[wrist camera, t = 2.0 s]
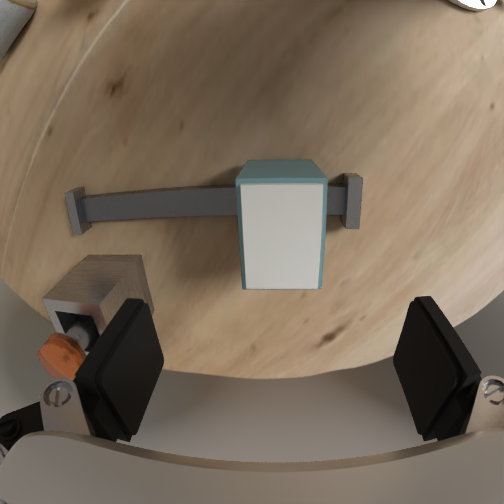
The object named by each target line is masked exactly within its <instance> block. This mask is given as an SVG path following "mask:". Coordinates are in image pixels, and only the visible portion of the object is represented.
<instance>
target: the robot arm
mask: <svg viewBox="0 0 504 504" xmlns="http://www.w3.org/2000/svg"><path fill="white" fill-rule="evenodd" d="M449 1H450V2H452V3H454V4H456V5H458V6H460V7H462V8H465V9H468V10H473V11H483V10H486V9H489V8H491V7H493V6H494V5H495V3H496V1H497V0H449ZM393 363H394V367H395V369H396V372H397V374H398V377H399V380H400V383H401V385H402V388H403V391H404V393H405V396H406V399H407V402H408V405H409V408H410V411H411V414H412V417H413V420H414V423H415V426H416V429H417V432H418V434H420V435H421V434H422V436H423V440H424V441H428V440H432V439H435V438H437V440H438V441H437V442H433V443H429V444H425V445H421V446H417V447H412V448H407V449H403V450H398V451H393V452H388V453H382V454H376V455H370V456H364V457H356V458H348V459H338V460H327V461H315V462H314V461H313V462H289V463H288V462H287V463H267V462H266V463H263V462H239V461H225V460H214V459H205V458H196V457H188V456H182V455H176V454H170V453H164V452H158V451H154V450H149V449H144V448H139V447H134V446H130V445H125V444H121V443H117V442H116V441H117V439H120V440H124V441H127V442H130V440H131V437H132V435H136V434H137V432H138V429H139V426H140V423H141V421H142V419H143V416H144V413H145V410H146V408H147V405H148V403H149V400H150V397H151V395H152V392H153V390H154V387H155V385H156V382H157V380H158V377H159V374H160V372H161V370H162V367H163V364H164V357H163V353H162V350H161V347H160V344H159V340H158V337H157V333H156V330H155V326H154V323H153V319H152V315H151V312H150V308H149V305H148V303H145V302H144V300H143V299H138V298H127V299H126V300H125V301H124V303H123V304H122V306H121V307H120V308H119V310H118V311H117V313H116V314H115V315H114V317H113V318H112V320H111V321H110V322H109V324H108V325H107V327H106V328H105V330H104V331H103V333H102V334H101V335H100V337H99V338H98V340H97V341H96V343H95V344H94V346H93V347H92V349H91V350H90V352H89V353H88V355H87V356H86V358H85V359H84V361H83V362H82V364H81V366H80V367H79V369H78V370H77V372H76V373H75V376H76V377H75V378H74V380H73V381H72V380H70V379H67V378H57V379H54V380H52V381H50V382H49V383H47V384H46V385H45V386H44V387H43V389H42V390H41V393H40V402H37V403H34V404H32V405H29V406H27V407H24V408H21V409H19V410H16V411H13V412H11V413H8V414H6V415H4V416H2V418H0V504H504V379H502V378H500V377H498V376H488V377H485V378H484V379H483V380H482V379H481V377H480V374H481V371H480V369H479V368H478V366H477V364H476V363H475V361H474V359H473V358H472V356H471V355H470V353H469V351H468V350H467V348H466V347H465V345H464V343H463V342H462V340H461V339H460V337H459V336H458V334H457V333H456V331H455V330H454V328H453V327H452V325H451V324H450V322H449V321H448V319H447V318H446V317H445V315H444V314H443V312H442V311H441V309H440V308H439V307H438V305H437V304H436V302H435V301H434V300H433V298H432V297H431V296H422V297H416V298H415V299H414V301H412V302H410V305H409V308H408V312H407V315H406V319H405V322H404V325H403V329H402V332H401V335H400V338H399V341H398V344H397V347H396V350H395V353H394V357H393Z"/></svg>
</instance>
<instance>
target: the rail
mask: <svg viewBox="0 0 504 504" xmlns="http://www.w3.org/2000/svg"><path fill="white" fill-rule="evenodd" d="M362 185H363V178H362V177H361V176H359V175H358V174H356V173H343V184H327V212H326V215H341V222H342V224H343V225H344V227H345V229H359V225H360V214H361V201H362ZM65 198H66V203H67V208H68V213H69V218H70V222H71V226H72V231H73V234H83V233H84V232H85V231H87V230H88V229H90V228H91V227H92V225H91V221H106V220H122V219H141V218H162V217H187V216H219V215H238V214H237V197H236V185H211V186H192V187H176V188H162V189H150V190H138V191H128V192H118V193H108V194H99V195H91V196H86V195H85V190H84V187H80V188H75V189H73V190H70V191H68V192H66V193H65Z"/></svg>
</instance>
